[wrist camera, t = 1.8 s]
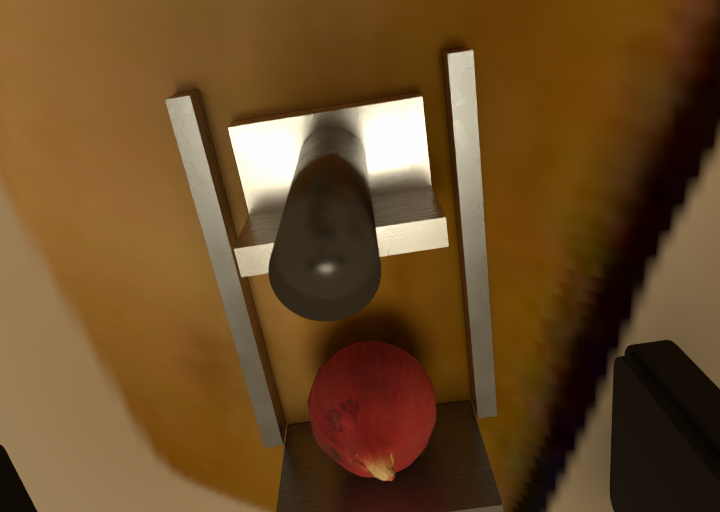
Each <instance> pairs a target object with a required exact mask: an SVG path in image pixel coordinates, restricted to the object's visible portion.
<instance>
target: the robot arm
mask: <svg viewBox="0 0 720 512" xmlns="http://www.w3.org/2000/svg"><path fill="white" fill-rule="evenodd" d="M610 498H611V503H612V507H613V510H614V512H720V389H719V388H718V387H717V386H716V385H715V384H714V383H713V382H712V381H711V380H710V379H709V378H708V377H707V376H706V375H705V374H704V373H703V372H702V371H701V370H700V368H699V367H698V366H697V365H696V364H695V363H694V362H693V361H692V360H691V359H690V358H689V357H688V356H687V355H686V354H685V353H684V352H683V351H682V350H681V349H680V348H679V347H678V346H677V345H676V344H675V343H674V342H672V341H670V340H663V341H656V342H649V343H641V344H634V345H630V346H628V347H627V348H626V350H625V355H624V356H621V357H617V358H616V359H615V361H614V373H613V404H612V435H611V467H610ZM0 512H37V510H36V508H35V506H34V504H33V502H32V500H31V498H30V497H29V495H28V493H27V491H26V489H25V487H24V485H23V483H22V481H21V479H20V477H19V475H18V473H17V472H16V469H15V468H14V466H13V464H12V462H11V460H10V458H9V456H8V454H7V452H6V450H5V449H4V447H3V446H2V445H0Z"/></svg>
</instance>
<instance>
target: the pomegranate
mask: <svg viewBox="0 0 720 512" xmlns="http://www.w3.org/2000/svg"><path fill="white" fill-rule="evenodd" d="M308 408H309V415H310V420H311V425H312V430H313V435H314V437H315V439H316V441H317V444H318V445H319V446H320V447H321V449H322V450H323V451H324V452H325V453H326V454H328V455H329V456H330V457H331V458H333V459H334V460H335V461H336V462H337V463H339V464H340V465H341V466H342V467H344V468H345V469H347V470H348V471H350V472H352V473H354V474H357V475H359V476H361V477H372V478H377V479H380V480H382V481H392V480H393V479H394V478H395V473H396V472H398V471H400V470H402V469H404V468H407V467H408V466H410V465H411V464H412V463H413V462H414V461H415V459H416V458H417V457H418V456H419V455H420V454H421V453H422V452H423V450H424V449H425V447H426V446H427V444H428V441H429V438H430V436H431V433H432V430H433V427H434V424H435V422H436V400H435V390H434V387H433V385H432V383H431V380H430V378H429V377H428V375H427V374H426V372H425V370H424V369H423V367H422V365H421V364H420V362H419V361H418V360H417V359H416V358H414V357H413V356H411V355H410V354H409V353H407V352H406V351H405V350H403V349H402V348H401V347H397V346H394V345H390V344H387V343H384V342H380V341H361V342H356V343H354V344H351V345H349V346H346V347H344V348H342V349H340V350H339V351H337V352H336V353H335V354H334V355H333V356H332V357H331V358H330V359H329V360H328V361H327V362H326V363H325V364H324V365H323V366H321V367H320V368H319V370H318V372H317V375H316V378H315V380H314V383H313V385H312V388H311V391H310V395H309V398H308Z"/></svg>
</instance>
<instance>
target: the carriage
mask: <svg viewBox="0 0 720 512" xmlns="http://www.w3.org/2000/svg"><path fill="white" fill-rule="evenodd" d="M228 130H229V134H230V138H231V142H232V147H233V151H234V155H235V159H236V163H237V167H238V171H239V175H240V179H241V183H242V187H243V191H244V195H245V199H246V203H247V207H248V212H249V215H248V218H247V220H246V222H245V225H244V227H243V229H242V231H241V234H240V236H239V238H238V241H237V243H236V245H235V247H234V251H235V255H236V259H237V263H238V266H239V270H240V274H241V277H246V276H253V275H260V274H266V273H269V280H270V283H271V287H272V289H273V291H274V293H275V295H276V296H277V298H278V299H279V300H280V301H281V303H282V304H283V305H284V306H286V307H287V308H288V309H289V310H291V311H292V312H294V313H295V314H297V315H299V316H301V317H304V318H307V319H311V320H316V321H336V320H341V319H344V318H347V317H349V316H352V315H354V314H355V313H357V312H359V311H360V310H362V309H363V308H364V307H365V306H366V305H367V304H368V303H369V302H370V301H371V299H372V298H373V297H374V295H375V293H376V291H377V289H378V287H379V284H380V279H381V263H380V257H381V256H388V255H395V254H402V253H408V252H415V251H422V250H429V249H435V248H442V247H449V245H448V235H447V224H446V216H445V214H444V212H443V210H442V208H441V206H440V203H439V201H438V199H437V197H436V195H435V192H434V190H433V188H432V185H431V176H430V166H429V156H428V147H427V137H426V127H425V118H424V108H423V98H422V96H421V94H420V93H419V92H416V93H410V94H403V95H397V96H391V97H385V98H378V99H372V100H366V101H359V102H353V103H347V104H341V105H334V106H328V107H322V108H315V109H309V110H303V111H296V112H290V113H284V114H278V115H271V116H265V117H259V118H252V119H246V120H240V121H234V122H232V123H231V124H230V126H229V127H228Z"/></svg>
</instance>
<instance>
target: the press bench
mask: <svg viewBox="0 0 720 512" xmlns="http://www.w3.org/2000/svg"><path fill="white" fill-rule="evenodd" d="M442 63H443V74H444V86H445V97H446V109H447V120H448V132H449V143H450V154H451V166H452V177H453V189H454V200H455V212H456V223H457V235H458V246H459V258H460V269H461V281H462V292H463V303H464V315H465V326H466V338H467V349H468V361H469V372H470V384H471V395H472V402H473V405H474V408H475V411H476V414H477V418H485V417H493V416H497V406H496V390H495V375H494V360H493V345H492V329H491V314H490V299H489V283H488V268H487V253H486V238H485V222H484V207H483V192H482V177H481V161H480V146H479V131H478V116H477V100H476V85H475V70H474V54H473V50H472V49H470V48H467V47H461V48H455V49H449V50H443V51H442ZM165 102H166V105H167V109H168V112H169V116H170V119H171V123H172V126H173V130H174V133H175V137H176V140H177V144H178V147H179V151H180V154H181V158H182V161H183V165H184V168H185V172H186V175H187V179H188V182H189V186H190V189H191V193H192V196H193V200H194V203H195V207H196V210H197V214H198V217H199V221H200V224H201V228H202V231H203V234H204V238H205V241H206V245H207V248H208V252H209V255H210V259H211V262H212V266H213V269H214V273H215V276H216V280H217V283H218V287H219V290H220V294H221V297H222V301H223V304H224V308H225V311H226V315H227V318H228V322H229V325H230V329H231V332H232V336H233V339H234V343H235V346H236V350H237V353H238V357H239V360H240V364H241V367H242V371H243V374H244V378H245V381H246V385H247V388H248V392H249V395H250V399H251V402H252V406H253V409H254V413H255V416H256V420H257V423H258V427H259V430H260V434H261V437H262V441H263V444H264V448H265V447H272V446H280V445H283V443H284V436H285V428H286V424H285V420H284V416H283V412H282V409H281V405H280V401H279V397H278V393H277V389H276V386H275V382H274V378H273V374H272V370H271V366H270V363H269V359H268V355H267V351H266V347H265V343H264V340H263V336H262V332H261V328H260V324H259V320H258V316H257V313H256V309H255V305H254V301H253V297H252V293H251V290H250V286H249V282H248V278H247V276H246V277H241V274H240V270H239V266H238V263H237V259H236V255H235V251H234V247H235V245H236V243H237V241H238V240H237V236H236V232H235V228H234V224H233V220H232V217H231V213H230V209H229V205H228V201H227V197H226V194H225V190H224V186H223V182H222V178H221V174H220V171H219V167H218V163H217V159H216V155H215V151H214V148H213V144H212V140H211V136H210V132H209V128H208V125H207V121H206V117H205V113H204V109H203V105H202V101H201V98H200V94H199V90H195V91H189V92H183V93H176V94H174V95H172V96H170V97H169V98H167V99H165ZM276 512H503V504H502V501H501V498H500V495H499V491H498V488H497V485H496V482H495V479H494V475H493V472H492V469H491V466H490V462H489V459H488V456H487V453H486V450H485V446H484V443H483V440H482V437H481V434H480V430H479V427H478V424H477V421H476V418H475V414H474V411H473V408H472V405H471V402H470V400H468V401H460V402H453V403H446V404H438V405H436V422H435V424H434V427H433V430H432V433H431V436H430V438H429V441H428V444H427V446H426V447H425V449H424V450H423V452H422V453H421V454H420V455H419V456H418V457H417V458H416V459H415V461H414V462H413V463H412V464H411V465H410V466H408V467H407V468H404V469H402V470H400V471H398V472H396V473H395V478H394V479H393V480H392V481H382V480H380V479H377V478H372V477H361V476H359V475H357V474H354V473H352V472H350V471H348V470H347V469H345V468H344V467H342V466H341V465H340V464H339V463H337V462H336V461H335V460H334V459H333V458H331V457H330V456H329V455H328V454H326V453H325V452H324V451H323V450H322V449H321V447H320V446H319V445H318V444H317V441H316V439H315V437H314V435H313V430H312V425H311V422H308V423H300V424H293V425H288V427H287V434H286V442H285V450H284V457H283V465H282V472H281V480H280V488H279V495H278V503H277V510H276Z"/></svg>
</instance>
